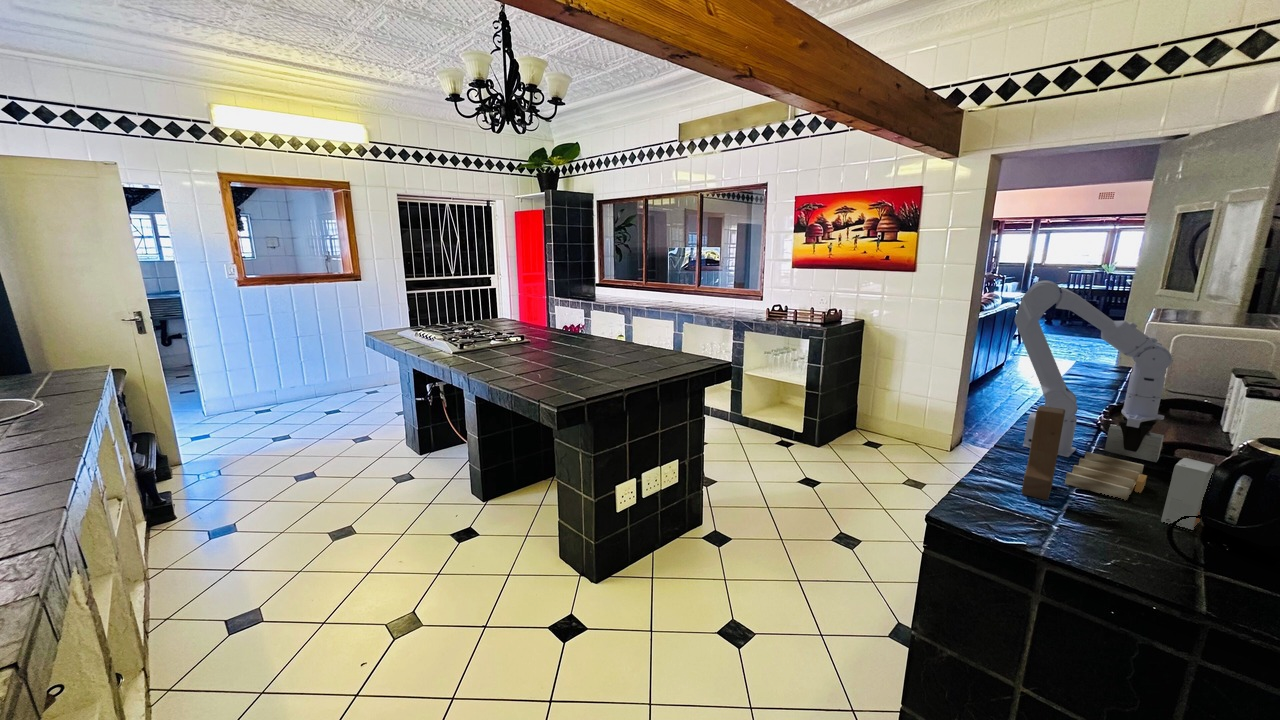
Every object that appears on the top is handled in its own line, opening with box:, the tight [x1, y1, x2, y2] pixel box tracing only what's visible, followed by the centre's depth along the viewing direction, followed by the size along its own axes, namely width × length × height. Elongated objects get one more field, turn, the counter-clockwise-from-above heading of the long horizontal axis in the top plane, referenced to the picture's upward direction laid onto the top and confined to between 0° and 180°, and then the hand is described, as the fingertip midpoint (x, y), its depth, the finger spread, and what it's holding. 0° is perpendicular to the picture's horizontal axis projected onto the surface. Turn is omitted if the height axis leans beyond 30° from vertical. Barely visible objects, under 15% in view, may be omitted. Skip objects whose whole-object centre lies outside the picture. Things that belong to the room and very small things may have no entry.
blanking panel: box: [1104, 424, 1165, 463], centre depth 118 cm, size 9×3×6 cm, turn 38°
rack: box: [1064, 451, 1148, 501], centre depth 110 cm, size 11×18×3 cm, turn 128°
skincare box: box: [1160, 457, 1216, 531], centre depth 92 cm, size 6×4×12 cm
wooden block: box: [1021, 405, 1065, 501], centre depth 105 cm, size 9×4×18 cm, turn 137°
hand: (1131, 448), depth 118 cm, fingers closed on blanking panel, 3 cm apart
